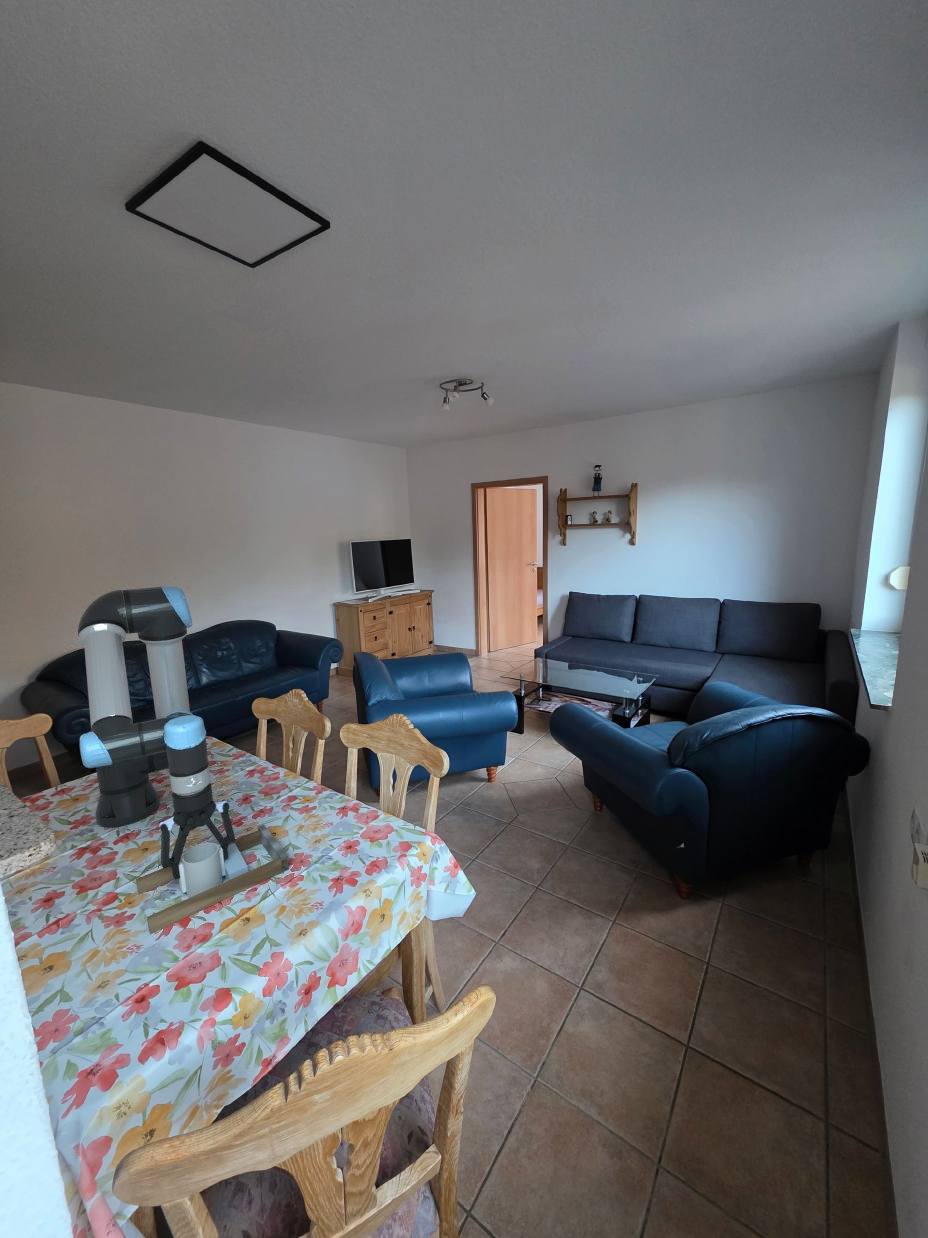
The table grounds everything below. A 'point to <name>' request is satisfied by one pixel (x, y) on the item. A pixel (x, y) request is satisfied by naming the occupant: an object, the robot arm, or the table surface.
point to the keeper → (234, 863)
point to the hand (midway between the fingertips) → (203, 880)
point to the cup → (202, 868)
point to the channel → (219, 891)
